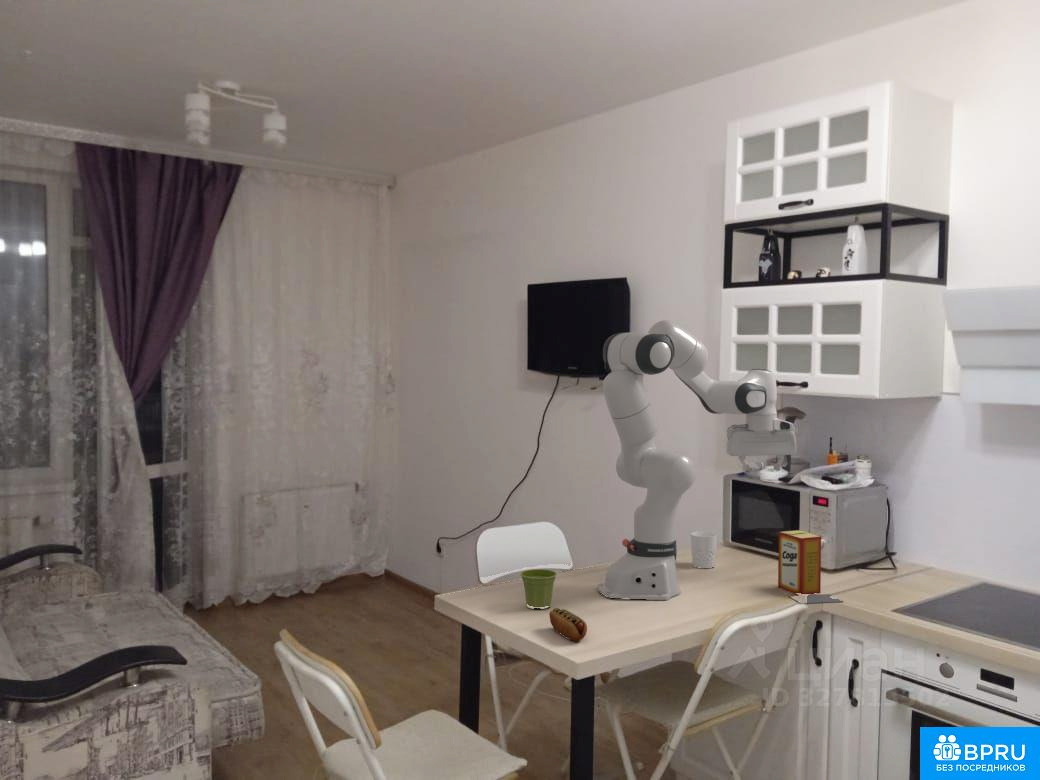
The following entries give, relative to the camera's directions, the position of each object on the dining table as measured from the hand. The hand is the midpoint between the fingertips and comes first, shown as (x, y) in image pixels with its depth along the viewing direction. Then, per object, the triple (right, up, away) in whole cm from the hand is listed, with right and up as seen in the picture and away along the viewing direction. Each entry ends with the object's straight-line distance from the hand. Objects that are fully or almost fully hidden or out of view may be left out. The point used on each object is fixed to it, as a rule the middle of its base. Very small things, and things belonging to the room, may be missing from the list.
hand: (761, 470), depth 246 cm
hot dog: (-60, -33, -55) cm, 88 cm away
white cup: (-15, -31, +11) cm, 36 cm away
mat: (+7, -32, -25) cm, 41 cm away
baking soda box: (+6, -32, -16) cm, 36 cm away
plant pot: (-67, -32, -32) cm, 81 cm away
